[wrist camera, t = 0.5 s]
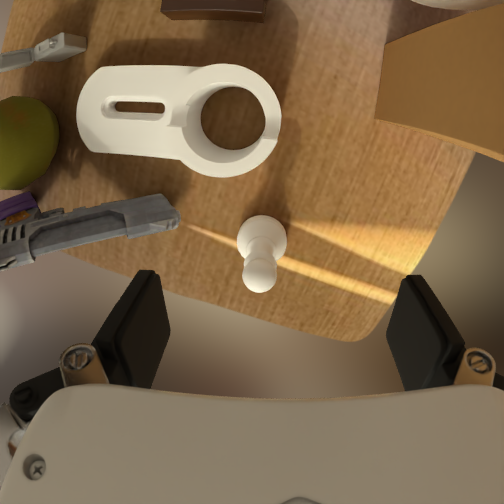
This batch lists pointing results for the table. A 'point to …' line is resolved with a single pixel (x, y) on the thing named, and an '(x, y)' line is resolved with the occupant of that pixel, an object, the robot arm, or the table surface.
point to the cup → (460, 4)
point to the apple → (25, 141)
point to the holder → (215, 10)
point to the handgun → (76, 225)
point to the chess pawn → (261, 251)
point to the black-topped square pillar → (449, 81)
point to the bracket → (172, 115)
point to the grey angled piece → (44, 52)
